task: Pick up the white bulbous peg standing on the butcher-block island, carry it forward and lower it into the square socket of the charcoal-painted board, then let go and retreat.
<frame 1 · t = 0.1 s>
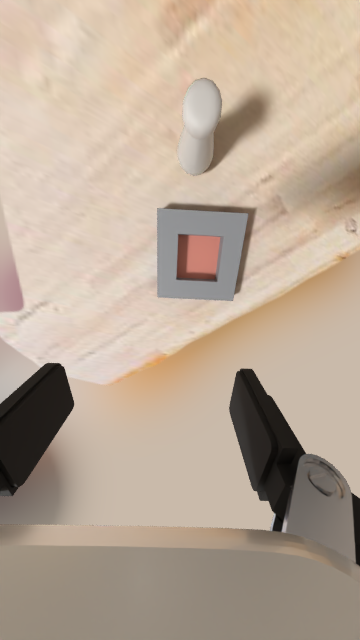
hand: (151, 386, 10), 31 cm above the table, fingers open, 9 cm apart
white bulbous peg: (194, 159, 30), on the table
socket board: (197, 258, 36), on the table
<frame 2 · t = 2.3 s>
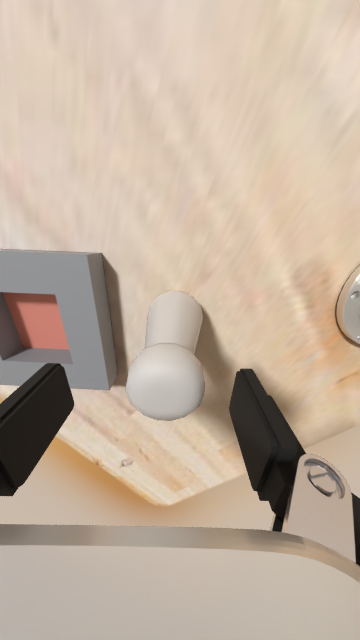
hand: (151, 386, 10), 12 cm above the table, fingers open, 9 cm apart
white bulbous peg: (176, 309, 21), on the table
socket board: (46, 319, 21), on the table
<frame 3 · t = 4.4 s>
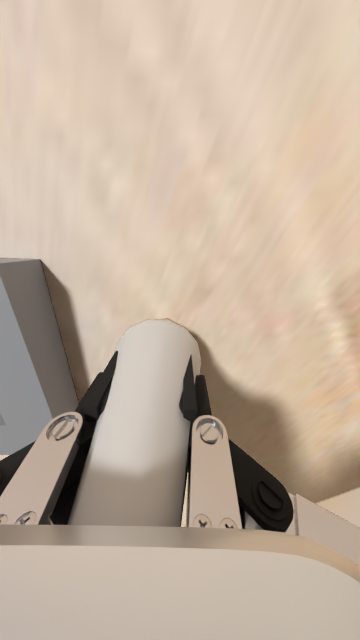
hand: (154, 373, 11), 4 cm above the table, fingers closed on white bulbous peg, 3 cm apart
white bulbous peg: (161, 340, 14), on the table, touching gripper
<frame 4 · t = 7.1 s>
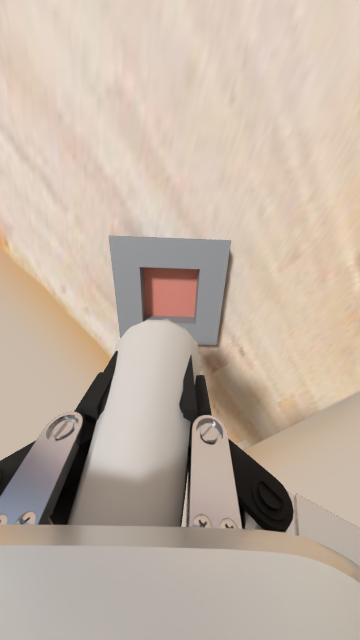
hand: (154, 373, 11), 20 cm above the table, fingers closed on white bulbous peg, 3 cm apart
white bulbous peg: (161, 340, 14), point 16 cm above the table, touching gripper
socket board: (170, 292, 29), on the table
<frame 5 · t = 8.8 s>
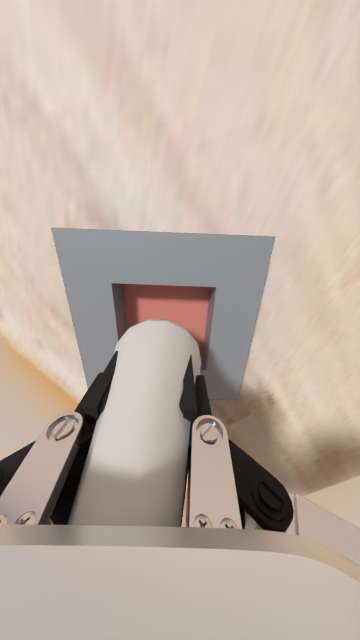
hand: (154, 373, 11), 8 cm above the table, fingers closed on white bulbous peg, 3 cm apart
white bulbous peg: (161, 340, 14), point 5 cm above the table, touching gripper
socket board: (166, 318, 18), on the table
when the fingers open (5 cm above the table, at t = 10.3 s): white bulbous peg stays where it is, resting on socket board.
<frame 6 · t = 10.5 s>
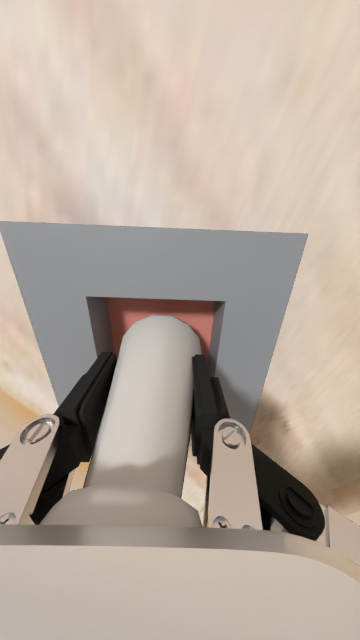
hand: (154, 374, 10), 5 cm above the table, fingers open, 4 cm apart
white bulbous peg: (164, 335, 15), resting on socket board
socket board: (161, 336, 15), on the table
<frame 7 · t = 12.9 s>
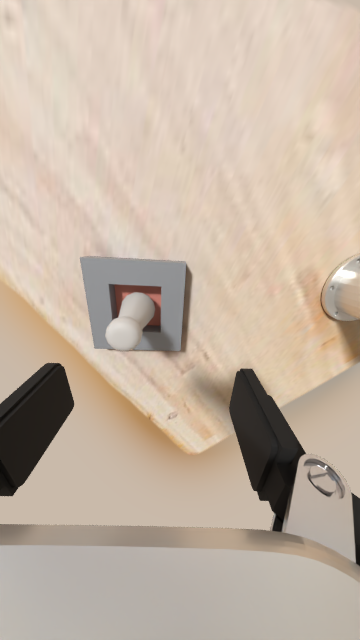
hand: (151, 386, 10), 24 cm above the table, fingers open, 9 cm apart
white bulbous peg: (140, 304, 32), resting on socket board
socket board: (139, 304, 32), on the table
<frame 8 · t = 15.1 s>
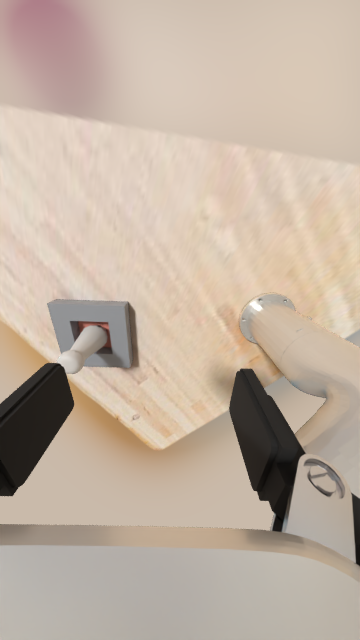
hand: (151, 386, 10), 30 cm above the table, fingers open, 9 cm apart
white bulbous peg: (99, 332, 42), resting on socket board
socket board: (97, 332, 42), on the table
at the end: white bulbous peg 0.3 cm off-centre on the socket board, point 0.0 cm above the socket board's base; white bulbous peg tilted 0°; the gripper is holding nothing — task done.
